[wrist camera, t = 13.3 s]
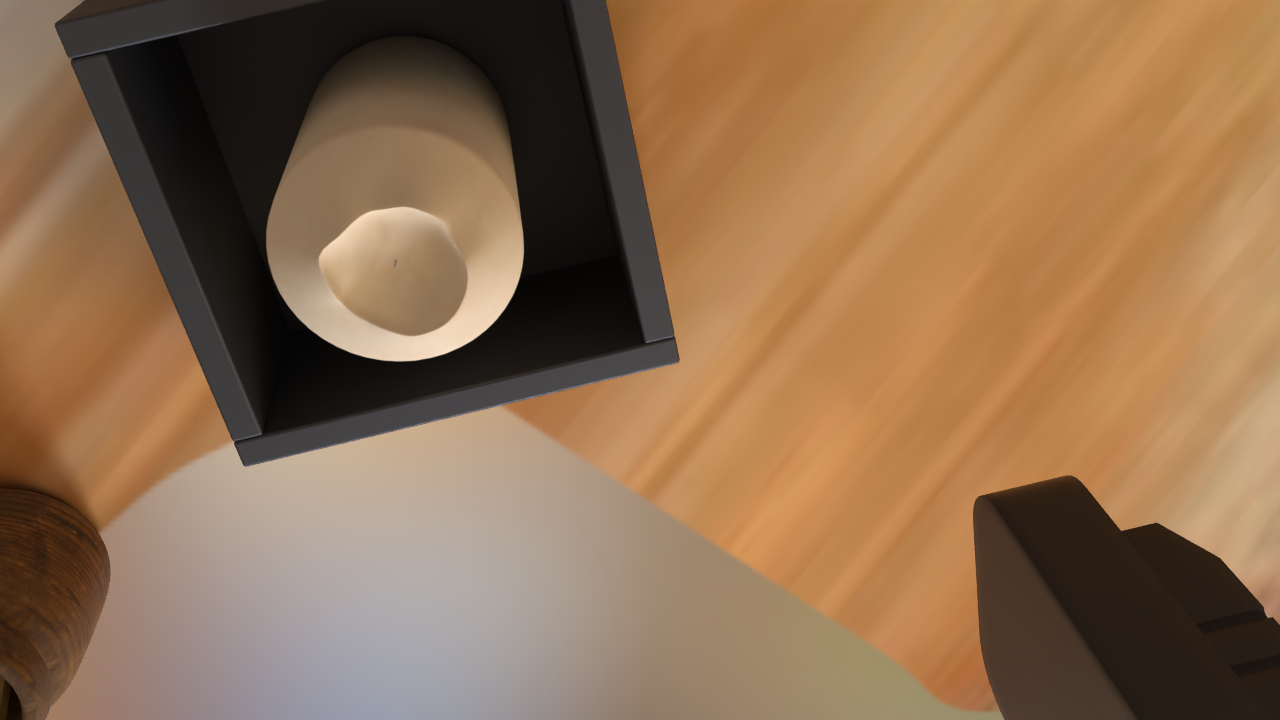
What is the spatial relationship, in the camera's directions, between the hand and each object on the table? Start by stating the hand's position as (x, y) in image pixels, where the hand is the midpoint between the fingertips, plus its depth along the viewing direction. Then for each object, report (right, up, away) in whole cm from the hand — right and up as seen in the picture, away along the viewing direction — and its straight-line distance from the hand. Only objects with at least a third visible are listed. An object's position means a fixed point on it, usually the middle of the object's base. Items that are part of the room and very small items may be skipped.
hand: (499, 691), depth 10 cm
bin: (-5, +9, +25) cm, 27 cm away
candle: (-5, +9, +24) cm, 27 cm away
